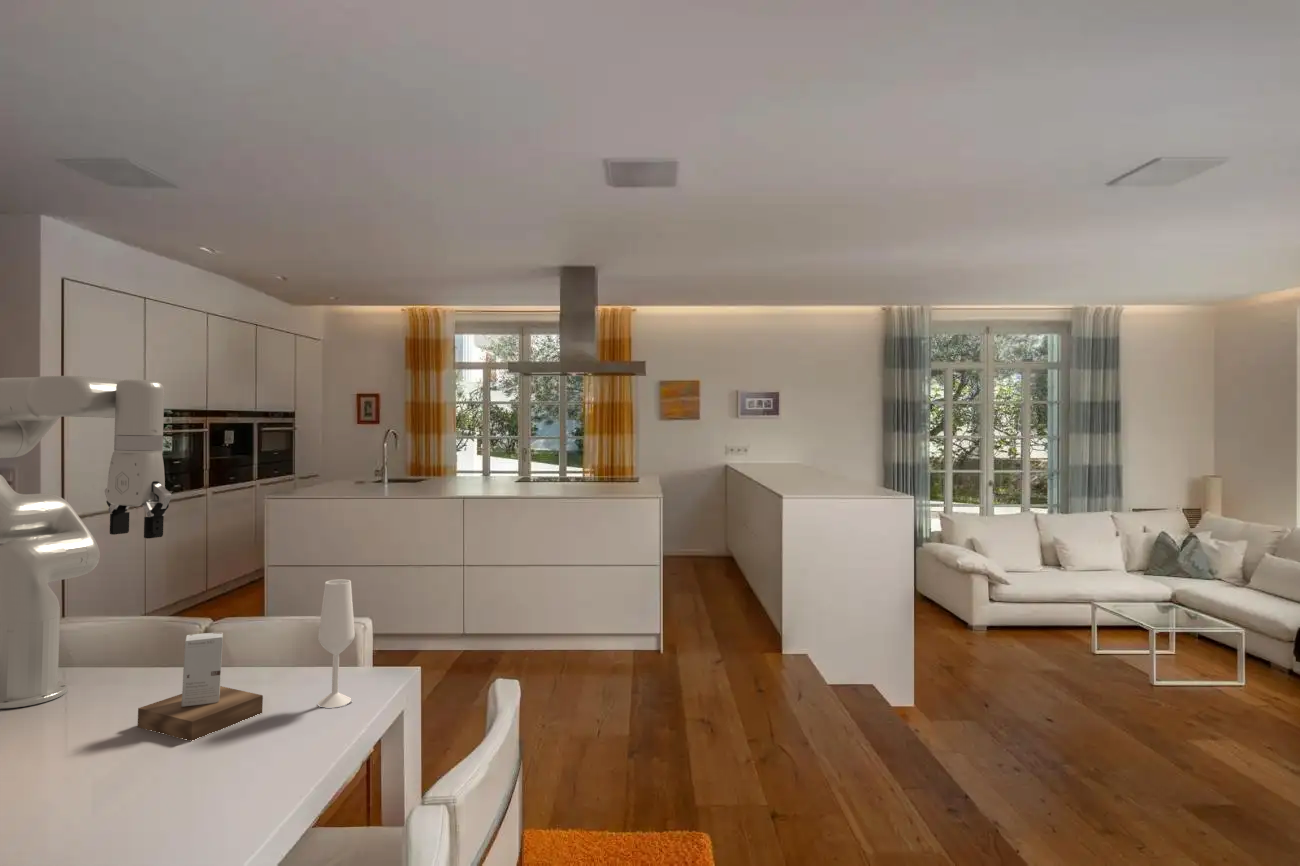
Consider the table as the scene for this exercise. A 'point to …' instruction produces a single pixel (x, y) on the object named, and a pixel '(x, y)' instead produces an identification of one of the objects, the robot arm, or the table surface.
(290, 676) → the table surface
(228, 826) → the table surface
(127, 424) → the robot arm
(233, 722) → the walnut base
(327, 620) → the champagne flute
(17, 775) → the table surface
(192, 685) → the skincare box
